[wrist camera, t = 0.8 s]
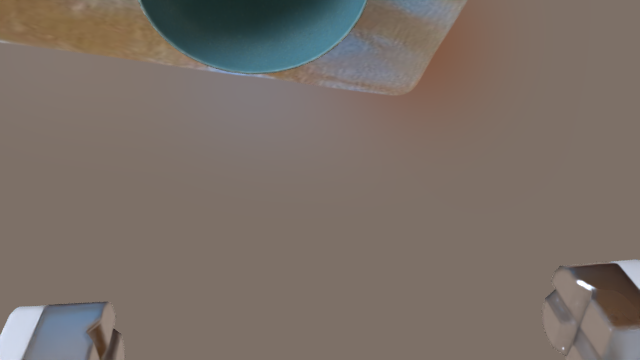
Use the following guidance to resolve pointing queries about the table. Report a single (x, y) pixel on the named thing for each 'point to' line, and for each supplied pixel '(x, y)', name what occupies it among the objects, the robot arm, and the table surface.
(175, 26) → the teal bowl
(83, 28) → the table surface
